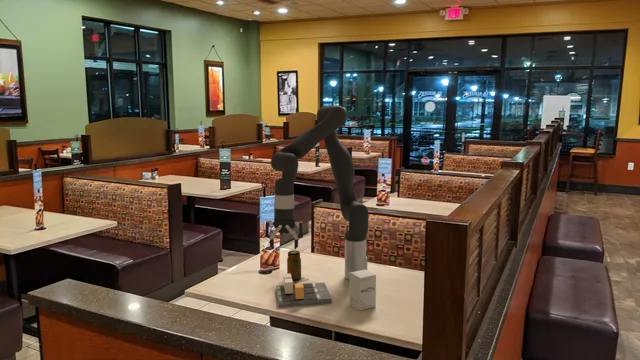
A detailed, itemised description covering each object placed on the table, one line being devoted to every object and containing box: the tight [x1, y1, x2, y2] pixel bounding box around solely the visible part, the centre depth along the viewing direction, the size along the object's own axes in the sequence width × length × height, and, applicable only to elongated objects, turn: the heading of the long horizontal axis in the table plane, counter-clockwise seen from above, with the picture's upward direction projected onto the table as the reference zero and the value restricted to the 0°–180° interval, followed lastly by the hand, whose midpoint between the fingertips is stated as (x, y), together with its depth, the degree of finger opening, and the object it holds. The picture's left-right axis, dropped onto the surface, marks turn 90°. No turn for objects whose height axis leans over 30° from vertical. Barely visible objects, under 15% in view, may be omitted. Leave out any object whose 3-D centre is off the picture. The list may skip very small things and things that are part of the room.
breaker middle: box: [284, 279, 294, 294], centre depth 189 cm, size 3×4×4 cm
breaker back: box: [282, 273, 292, 288], centre depth 195 cm, size 3×4×4 cm
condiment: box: [286, 249, 308, 284], centre depth 209 cm, size 7×8×12 cm
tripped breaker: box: [294, 282, 304, 299], centre depth 184 cm, size 3×4×4 cm
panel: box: [275, 282, 333, 308], centre depth 190 cm, size 20×17×2 cm
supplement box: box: [349, 269, 377, 311], centre depth 180 cm, size 7×7×13 cm
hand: (284, 248), depth 183 cm, fingers open, 8 cm apart
